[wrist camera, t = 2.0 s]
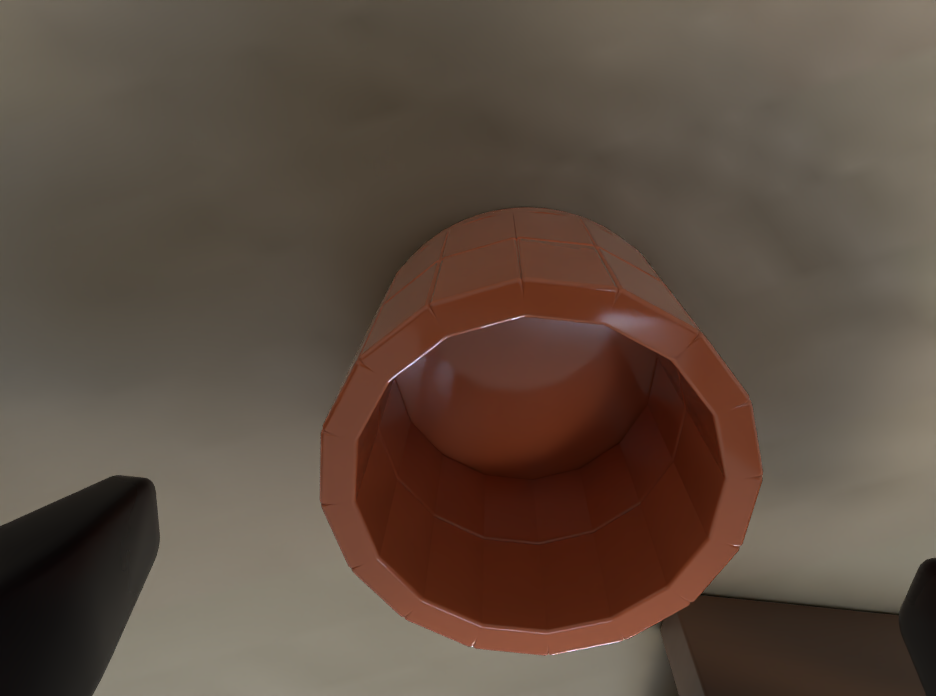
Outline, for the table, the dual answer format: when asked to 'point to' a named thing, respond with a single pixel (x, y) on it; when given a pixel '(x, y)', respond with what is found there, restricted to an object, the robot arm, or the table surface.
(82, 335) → the table surface
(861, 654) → the rack
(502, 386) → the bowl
